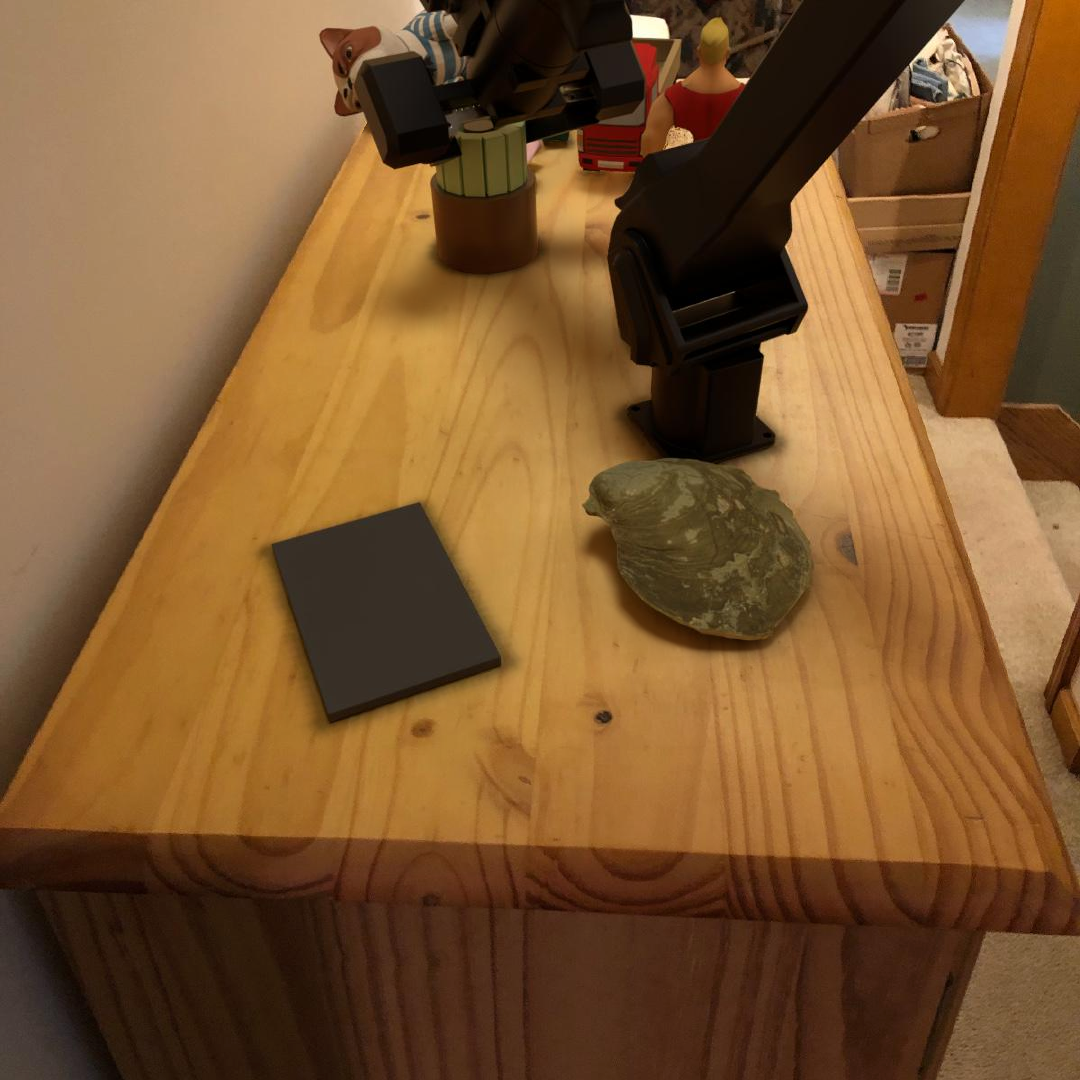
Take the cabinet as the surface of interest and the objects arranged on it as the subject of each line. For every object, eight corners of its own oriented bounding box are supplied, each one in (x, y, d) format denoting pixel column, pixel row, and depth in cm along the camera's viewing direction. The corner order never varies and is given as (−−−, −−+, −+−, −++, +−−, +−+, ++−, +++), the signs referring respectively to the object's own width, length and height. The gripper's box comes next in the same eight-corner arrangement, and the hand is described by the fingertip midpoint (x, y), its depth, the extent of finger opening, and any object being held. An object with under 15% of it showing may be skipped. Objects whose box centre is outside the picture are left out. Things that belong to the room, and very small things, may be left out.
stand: (553, 260, 75) (550, 133, 69) (457, 282, 73) (445, 153, 67) (515, 220, 81) (509, 99, 74) (424, 239, 79) (410, 116, 72)
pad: (501, 665, 46) (501, 656, 46) (330, 722, 44) (328, 714, 44) (421, 509, 54) (419, 501, 54) (273, 552, 52) (270, 543, 52)
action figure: (762, 221, 79) (787, 12, 69) (761, 242, 76) (788, 27, 66) (640, 216, 80) (648, 9, 70) (635, 236, 78) (643, 24, 68)
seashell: (800, 643, 44) (664, 464, 42) (669, 701, 48) (540, 540, 46) (828, 532, 52) (715, 378, 51) (714, 589, 57) (606, 449, 55)
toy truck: (571, 190, 84) (570, 62, 77) (614, 103, 99) (616, -10, 92) (653, 195, 83) (659, 66, 76) (685, 107, 98) (692, -8, 91)
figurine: (471, 131, 93) (322, 131, 96) (524, 71, 106) (391, 73, 110) (458, 33, 87) (301, 37, 91) (516, -17, 101) (377, -12, 104)
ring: (540, 186, 72) (538, 129, 69) (455, 203, 70) (450, 145, 67) (507, 155, 76) (504, 100, 74) (426, 170, 75) (420, 115, 72)
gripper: (629, -130, 62) (545, 23, 76) (338, -90, 55) (308, 68, 70) (695, 42, 62) (599, 162, 76) (413, 102, 55) (367, 220, 70)
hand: (472, 149), depth 73 cm, fingers closed on ring, 6 cm apart
